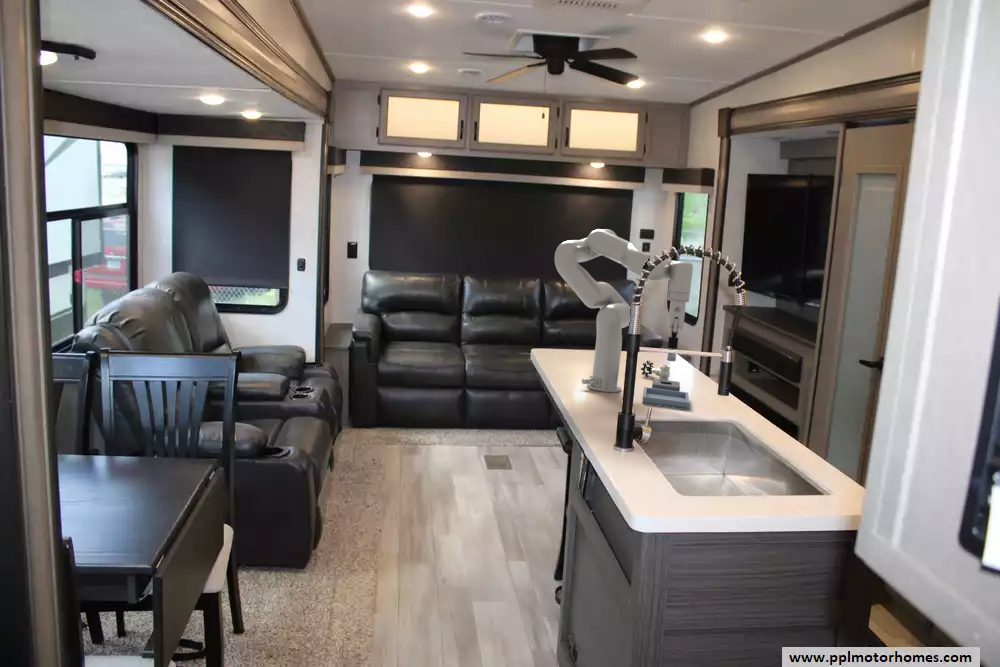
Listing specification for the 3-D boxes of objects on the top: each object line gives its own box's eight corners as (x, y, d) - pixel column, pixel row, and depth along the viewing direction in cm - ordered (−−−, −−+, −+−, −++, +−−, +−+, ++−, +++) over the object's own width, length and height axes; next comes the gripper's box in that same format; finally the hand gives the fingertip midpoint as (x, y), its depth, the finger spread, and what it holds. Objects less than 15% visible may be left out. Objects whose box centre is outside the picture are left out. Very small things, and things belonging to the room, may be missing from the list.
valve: (673, 382, 334) (651, 375, 344) (675, 366, 333) (653, 360, 342) (661, 383, 330) (639, 376, 340) (663, 367, 329) (641, 360, 339)
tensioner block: (678, 396, 310) (680, 387, 309) (651, 393, 312) (652, 384, 311) (678, 390, 320) (679, 381, 319) (651, 387, 321) (653, 378, 321)
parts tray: (688, 409, 292) (689, 402, 292) (642, 403, 295) (643, 396, 294) (687, 399, 308) (688, 392, 307) (643, 393, 310) (644, 386, 310)
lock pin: (671, 361, 296) (674, 332, 294) (664, 359, 299) (667, 330, 297) (677, 361, 298) (680, 331, 296) (671, 359, 301) (674, 330, 299)
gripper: (690, 300, 286) (683, 353, 289) (688, 295, 302) (682, 345, 305) (667, 298, 287) (661, 350, 290) (667, 293, 303) (661, 342, 306)
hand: (672, 347), depth 298 cm, fingers closed on lock pin, 3 cm apart
